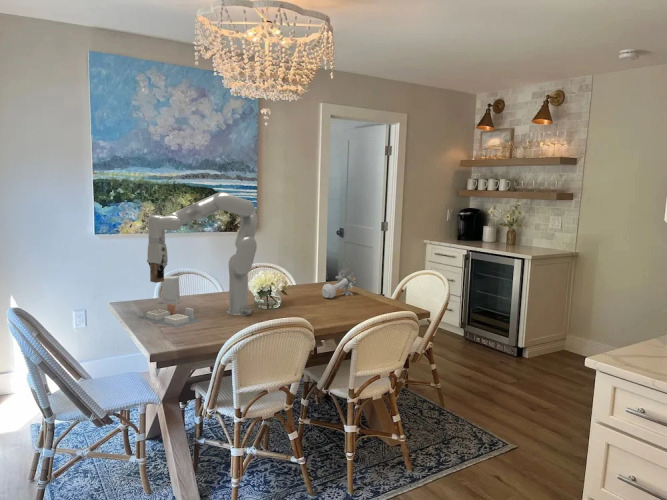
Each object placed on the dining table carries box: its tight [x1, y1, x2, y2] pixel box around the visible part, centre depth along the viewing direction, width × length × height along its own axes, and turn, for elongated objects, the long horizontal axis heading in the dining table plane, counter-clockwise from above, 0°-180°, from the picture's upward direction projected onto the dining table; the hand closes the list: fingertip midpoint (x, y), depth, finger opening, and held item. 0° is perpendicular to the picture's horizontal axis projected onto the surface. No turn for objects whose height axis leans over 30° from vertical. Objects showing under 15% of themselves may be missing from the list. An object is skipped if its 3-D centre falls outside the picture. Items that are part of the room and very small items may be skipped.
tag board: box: [138, 308, 203, 329], centre depth 244 cm, size 29×16×4 cm, turn 56°
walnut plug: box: [149, 263, 164, 284], centre depth 244 cm, size 4×4×9 cm
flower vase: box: [321, 267, 357, 299], centre depth 308 cm, size 13×18×25 cm
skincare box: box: [160, 275, 181, 305], centre depth 275 cm, size 8×7×16 cm
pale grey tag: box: [185, 307, 195, 320], centre depth 245 cm, size 4×1×5 cm, turn 56°
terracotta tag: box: [166, 303, 176, 315], centre depth 253 cm, size 4×1×5 cm, turn 56°
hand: (157, 276), depth 244 cm, fingers closed on walnut plug, 4 cm apart
